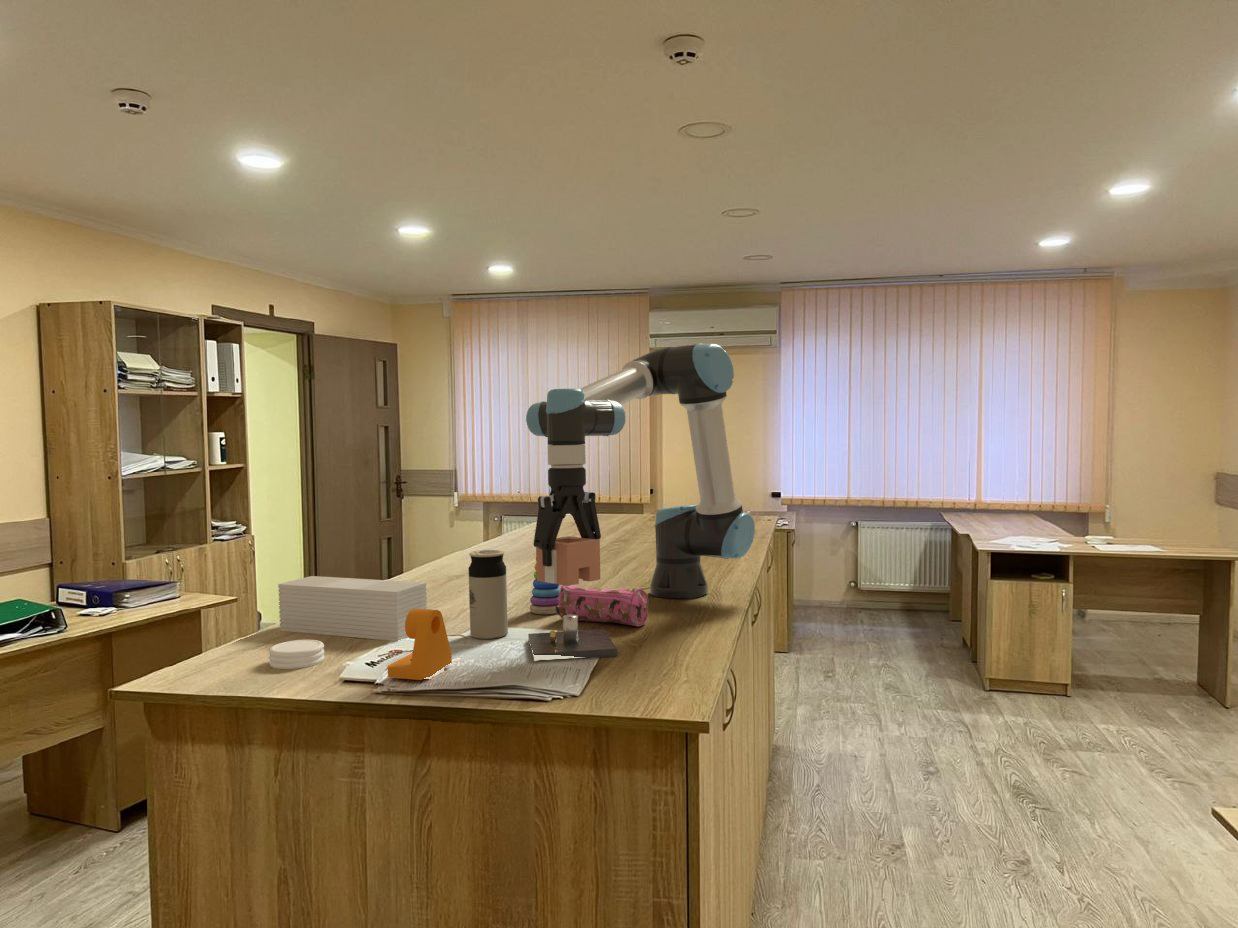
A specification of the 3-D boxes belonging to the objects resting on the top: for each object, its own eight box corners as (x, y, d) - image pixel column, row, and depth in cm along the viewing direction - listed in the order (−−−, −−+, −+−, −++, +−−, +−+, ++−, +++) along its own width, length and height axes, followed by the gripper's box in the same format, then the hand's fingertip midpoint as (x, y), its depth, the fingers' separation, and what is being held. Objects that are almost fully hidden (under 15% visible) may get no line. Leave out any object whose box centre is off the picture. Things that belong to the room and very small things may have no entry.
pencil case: (552, 623, 193) (551, 584, 192) (573, 615, 201) (572, 577, 200) (635, 632, 182) (634, 591, 182) (654, 623, 190) (653, 584, 190)
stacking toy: (558, 615, 199) (556, 536, 198) (525, 614, 201) (523, 536, 200) (566, 608, 207) (564, 532, 206) (535, 607, 209) (533, 532, 208)
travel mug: (507, 629, 187) (504, 548, 186) (508, 638, 179) (506, 553, 178) (470, 631, 185) (468, 550, 184) (470, 640, 177) (467, 555, 177)
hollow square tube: (569, 574, 176) (568, 536, 175) (600, 579, 169) (599, 539, 169) (536, 580, 169) (535, 540, 169) (567, 586, 163) (566, 544, 163)
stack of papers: (280, 631, 190) (278, 584, 190) (313, 620, 200) (311, 575, 200) (398, 642, 179) (396, 591, 178) (427, 630, 189) (426, 582, 188)
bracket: (417, 664, 160) (415, 602, 160) (451, 667, 158) (449, 604, 158) (385, 681, 150) (383, 614, 150) (421, 684, 148) (419, 616, 147)
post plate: (528, 640, 176) (527, 609, 176) (604, 636, 179) (603, 605, 179) (533, 661, 161) (533, 627, 160) (616, 656, 163) (616, 622, 163)
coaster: (296, 654, 170) (295, 637, 170) (335, 658, 167) (335, 640, 166) (257, 667, 161) (257, 649, 161) (298, 672, 157) (297, 654, 157)
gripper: (591, 463, 179) (593, 569, 180) (512, 468, 163) (515, 584, 164) (617, 464, 174) (619, 573, 175) (538, 469, 158) (541, 589, 159)
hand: (569, 578), depth 169 cm, fingers closed on hollow square tube, 9 cm apart
